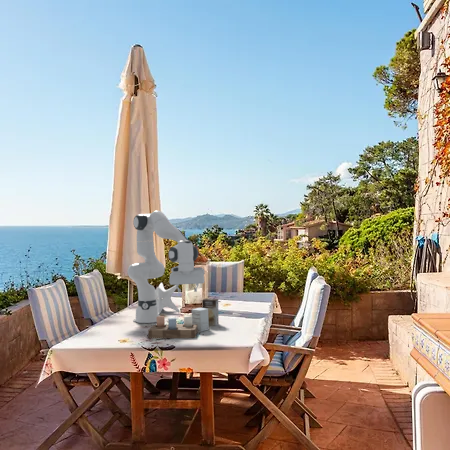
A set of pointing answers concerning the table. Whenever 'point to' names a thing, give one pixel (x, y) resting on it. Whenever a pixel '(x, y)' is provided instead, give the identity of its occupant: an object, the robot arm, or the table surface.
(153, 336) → the tray
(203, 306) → the coffee box
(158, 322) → the tan rounded short cylinder
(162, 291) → the starfish
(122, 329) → the table surface
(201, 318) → the supplement box
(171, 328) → the key slate
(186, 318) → the cream egg-shaped piece
